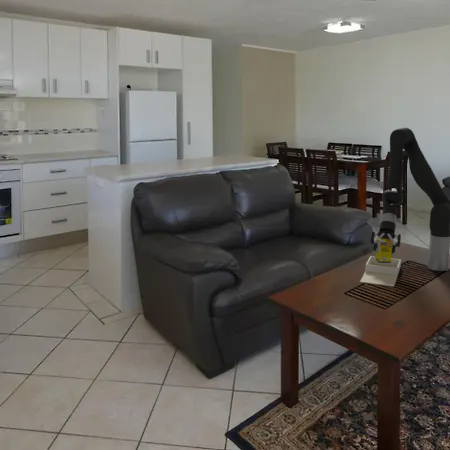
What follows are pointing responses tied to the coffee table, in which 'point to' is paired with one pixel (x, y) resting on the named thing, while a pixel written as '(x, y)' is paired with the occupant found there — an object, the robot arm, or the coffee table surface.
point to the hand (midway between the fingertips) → (383, 252)
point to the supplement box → (384, 250)
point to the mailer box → (381, 272)
